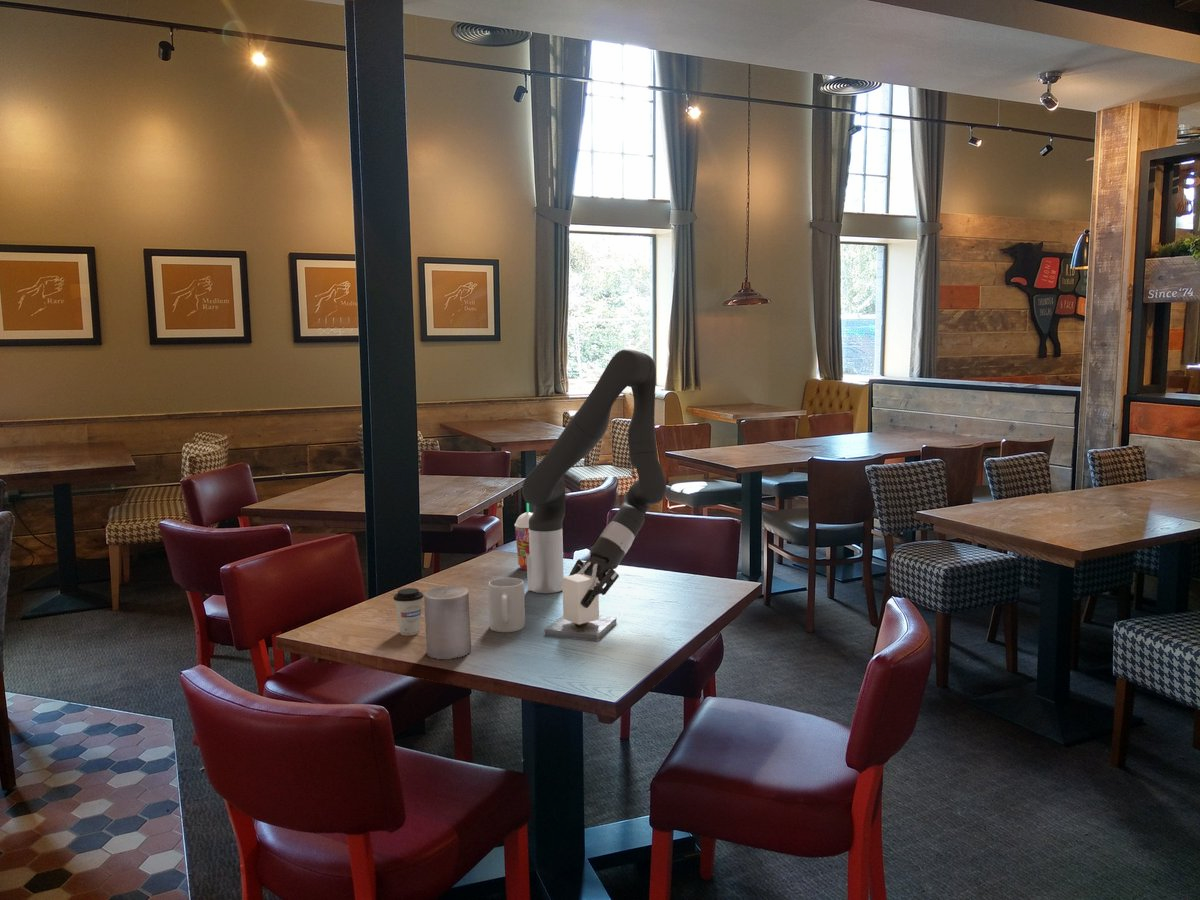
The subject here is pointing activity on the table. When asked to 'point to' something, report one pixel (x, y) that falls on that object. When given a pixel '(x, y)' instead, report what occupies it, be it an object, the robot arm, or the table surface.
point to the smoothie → (523, 538)
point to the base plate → (580, 629)
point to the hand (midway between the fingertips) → (575, 602)
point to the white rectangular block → (578, 599)
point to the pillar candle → (447, 622)
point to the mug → (506, 604)
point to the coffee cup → (409, 610)
